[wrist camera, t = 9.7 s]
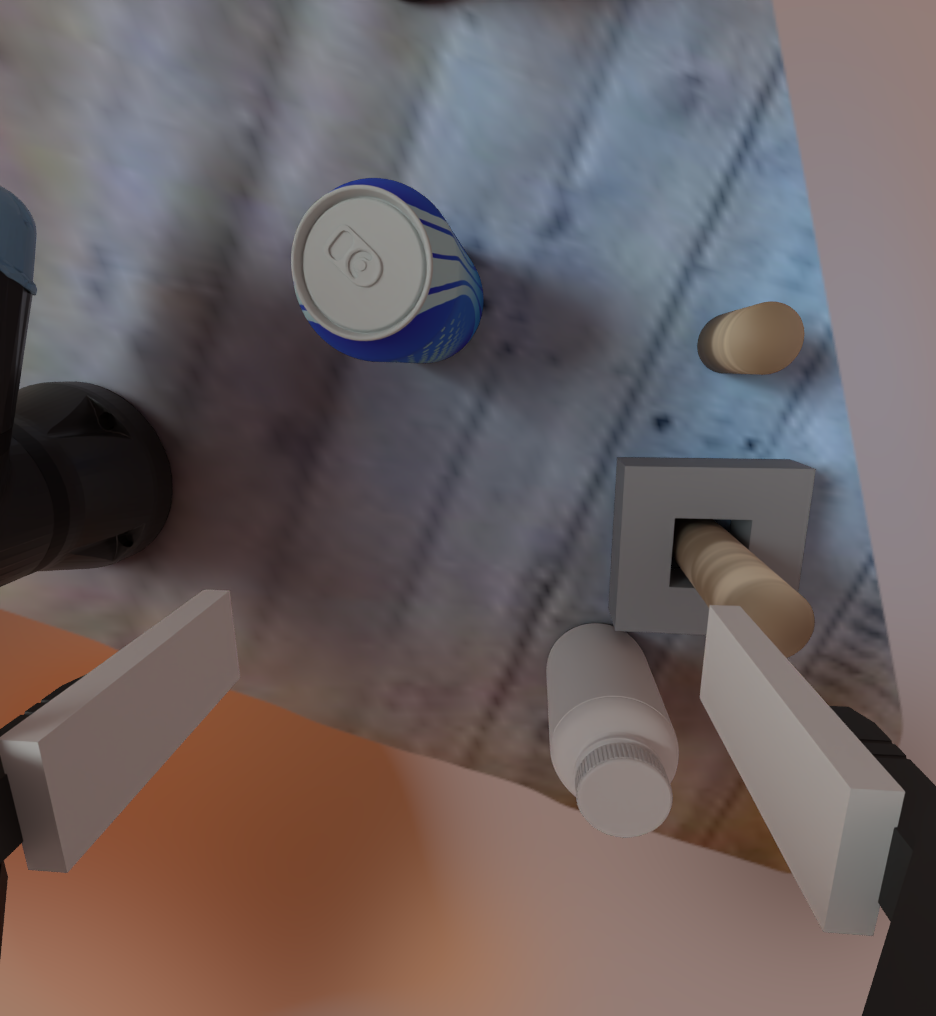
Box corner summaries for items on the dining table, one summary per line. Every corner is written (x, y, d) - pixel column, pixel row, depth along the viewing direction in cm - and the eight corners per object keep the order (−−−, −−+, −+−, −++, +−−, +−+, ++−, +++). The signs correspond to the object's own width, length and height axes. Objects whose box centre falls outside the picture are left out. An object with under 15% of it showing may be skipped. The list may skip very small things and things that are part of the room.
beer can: (477, 230, 39) (438, 144, 24) (491, 355, 41) (464, 348, 26) (361, 250, 41) (254, 178, 25) (380, 370, 43) (290, 372, 27)
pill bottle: (662, 687, 46) (720, 834, 32) (571, 721, 48) (586, 875, 33) (621, 604, 45) (661, 717, 30) (529, 642, 46) (525, 767, 32)
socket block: (608, 608, 45) (615, 630, 41) (617, 457, 42) (625, 466, 38) (768, 615, 44) (791, 639, 40) (789, 459, 41) (815, 469, 37)
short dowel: (694, 373, 40) (726, 374, 33) (700, 313, 39) (733, 302, 32) (754, 373, 40) (799, 374, 33) (761, 312, 39) (808, 301, 32)
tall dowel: (667, 511, 43) (733, 585, 28) (723, 512, 42) (820, 588, 28) (663, 562, 44) (725, 658, 29) (717, 563, 43) (808, 663, 29)
